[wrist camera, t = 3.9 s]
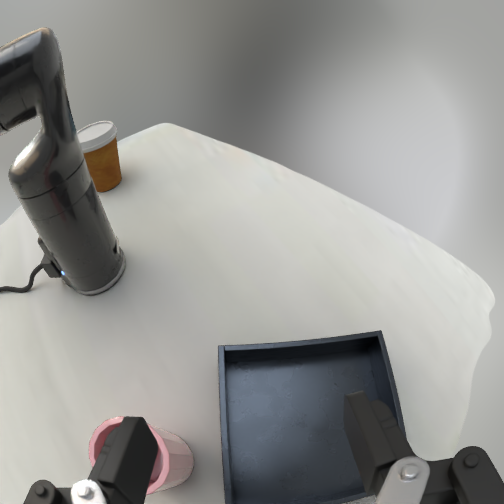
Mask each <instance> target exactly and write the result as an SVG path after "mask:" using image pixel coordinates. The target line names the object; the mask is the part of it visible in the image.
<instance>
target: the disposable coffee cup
mask: <svg viewBox="0 0 504 504" xmlns="http://www.w3.org/2000/svg"><path fill="white" fill-rule="evenodd" d="M116 134H117V128H116V127H115V126H114V124H113V123H112V122H111V121H100V122H97V123H93V124H90V125H88V126H86V127H84V128H82V129H80V130H79V131H77V135H78V138H79V142H80V145H81V148H82V150H83V153H84V156H85V159H86V162H87V165H88V168H89V171H90V174H91V177H92V179H93V182H94V185H95V188H96V190H97V192H104V191H108V190H110V189H112V188H114V187H116V186H117V185H118V184H119V183H120V181H121V179H122V177H121V171H120V164H119V157H118V149H117V140H116Z"/></svg>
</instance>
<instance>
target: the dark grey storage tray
mask: <svg viewBox="0 0 504 504" xmlns="http://www.w3.org/2000/svg"><path fill="white" fill-rule="evenodd" d="M218 364H219V398H220V423H221V444H222V462H223V478H224V492H225V504H342V503H346V502H350V501H354V500H357V499H361V498H364V497H368V496H371V495H374V494H375V493H374V494H371V495H368V496H367V494H366V491H365V488H364V485H363V482H362V479H361V476H360V473H359V470H358V467H357V465H356V462H355V459H354V456H353V453H352V450H351V447H350V444H349V442H348V439H347V436H346V433H345V429H344V423H343V414H344V396H345V395H348V394H352V393H355V392H359V391H364V392H365V393H366V395H367V397H368V399H369V401H374V400H377V399H379V400H380V401H382V402H383V403H385V404H386V405H387V406H388V407H389V409H390V410H391V412H392V414H393V417H394V418H395V419H396V421H397V423H398V425H399V427H400V428H401V430H402V432H403V434H404V436H405V438H406V432H405V427H404V422H403V417H402V412H401V407H400V402H399V397H398V393H397V388H396V384H395V380H394V376H393V372H392V368H391V364H390V360H389V356H388V352H387V349H386V345H385V341H384V338H383V334H382V331H381V330H380V331H374V332H367V333H360V334H353V335H346V336H338V337H330V338H321V339H312V340H302V341H291V342H278V343H264V344H247V345H225V346H224V345H223V346H218ZM406 439H407V438H406Z"/></svg>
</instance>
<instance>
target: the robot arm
mask: <svg viewBox="0 0 504 504" xmlns="http://www.w3.org/2000/svg"><path fill="white" fill-rule="evenodd" d="M38 116H40V118H41V121H42V127H41V129H40V131H39V132H38V134H37V135H36V136H35V138H34V139H33V140H32V141H31V142H30V143H29V144H28V145H27V146H26V147H25V148H24V149H23V151H21V153H20V154H19V155H18V156H17V157H16V158H15V160H14V161H13V163H12V165H11V167H10V169H9V180H10V183H11V185H12V187H13V189H14V191H15V193H16V195H17V197H18V199H19V201H20V203H21V204H22V206H23V208H24V210H25V212H26V214H27V215H28V217H29V219H30V221H31V222H32V224H33V226H34V228H35V229H36V231H37V233H38V234H39V238H38V244H39V245H40V247H41V248H42V250H43V252H44V253H45V254H44V257H43V259H42V261H41V264H40V265H38V266H37V267H36V268H35V269H34V270H33V272H32V273H31V276H30V280H29V284H28V285H27V286H26V287H24V288H16V287H9V286H4V287H0V292H1V291H13V292H26V291H28V290H30V289H31V287H32V285H33V281H34V277H35V275H36V274H37V273H38V272H39V271H40V270H41V269H42V268H44V270H45V271H46V273H47V274H48V275H49V277H50V278H60V277H61V278H62V279H63V280H64V282H65V283H66V284H67V285H68V286H72V287H73V288H74V289H75V290H76V291H77V292H79V293H81V294H84V295H94V294H98V293H101V292H103V291H105V290H107V289H109V288H110V287H111V286H113V285H114V284H115V283H116V282H117V281H118V279H119V278H120V276H121V275H122V273H123V270H124V267H125V256H124V254H123V252H122V250H121V248H120V246H119V241H118V238H117V236H116V237H115V235H114V233H113V230H112V228H111V226H110V223H109V221H108V218H107V216H106V213H105V211H104V208H103V206H102V203H101V201H100V198H99V196H98V193H97V190H96V188H95V185H94V182H93V179H92V177H91V174H90V171H89V168H88V165H87V162H86V159H85V156H84V153H83V150H82V148H81V145H80V142H79V138H78V135H77V132H76V129H75V125H74V122H73V118H72V114H71V110H70V106H69V101H68V96H67V90H66V84H65V77H64V70H63V63H62V57H61V51H60V47H59V42H58V40H57V37H56V35H55V34H54V32H53V31H52V30H51V29H49V28H46V27H44V28H40V29H37V30H34V31H32V32H30V33H28V34H25V35H23V36H21V37H19V38H17V39H15V40H13V41H11V42H9V43H8V44H6V45H4V46H2V47H0V136H1V135H3V134H5V133H7V132H8V131H10V130H12V129H14V128H16V127H18V126H20V125H22V124H23V123H25V122H28V121H30V120H31V119H34V118H36V117H38ZM343 423H344V429H345V433H346V436H347V439H348V442H349V444H350V447H351V450H352V453H353V456H354V459H355V462H356V465H357V467H358V470H359V473H360V476H361V479H362V482H363V485H364V488H365V491H366V494H367V496H368V495H371V494H374V493H375V495H376V498H377V499H376V501H375V503H374V504H504V483H503V481H502V479H501V477H500V475H499V474H498V472H497V470H496V469H495V467H494V465H493V463H492V462H491V460H490V458H489V457H488V455H487V453H486V452H485V451H484V450H483V449H482V448H480V447H476V446H470V447H466V448H463V449H462V450H460V451H459V452H458V453H457V454H456V455H455V457H454V458H450V459H444V460H439V461H426V460H423V459H422V458H419V457H417V456H416V455H415V454H414V452H413V451H412V449H411V447H410V445H409V443H408V441H407V439H406V438H405V436H404V434H403V432H402V430H401V428H400V427H399V425H398V423H397V421H396V419H395V418H394V417H393V414H392V412H391V410H390V409H389V407H388V406H387V405H386V404H385V403H383V402H382V401H380V400H379V399H377V400H374V401H369V399H368V397H367V395H366V393H365V392H364V391H359V392H355V393H352V394H348V395H345V396H344V414H343ZM157 453H158V443H157V440H156V438H155V436H154V435H153V433H152V431H151V430H150V428H149V426H148V425H147V423H146V421H145V419H144V418H143V417H129V416H126V417H124V418H123V420H122V422H121V424H120V426H119V427H115V428H114V429H113V430H112V431H111V432H110V433H109V434H108V436H107V438H106V440H105V442H104V446H102V449H101V453H99V455H98V457H97V460H96V462H95V464H94V466H93V469H92V471H91V473H90V475H89V477H88V479H86V480H81V481H78V482H77V483H75V484H74V485H73V487H72V488H56V487H55V486H54V485H53V484H52V483H51V482H49V481H47V480H39V481H37V482H35V483H34V484H33V485H32V486H31V488H30V490H29V493H28V495H27V497H26V499H25V501H24V504H144V501H145V497H146V493H147V489H148V486H149V482H150V478H151V474H152V471H153V467H154V464H155V460H156V456H157Z"/></svg>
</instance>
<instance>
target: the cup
mask: <svg viewBox="0 0 504 504" xmlns="http://www.w3.org/2000/svg"><path fill="white" fill-rule="evenodd" d="M123 418H124V417H123V416H119V417H116V418H112V419H109V420H106V421H104V422H103V423H102V424H101V425H100V426H99V427H97V428H96V430H95V431H94V433H93V435H92V437H91V440H90V442H89V459H90V461H91V464H92V467H93V466H94V464H95V462H96V460H97V457H98V455H99V453H101V449H102V446H104V442H105V440H106V438H107V436H108V434H109V433H110V432H111V431H112V430H113V429H114V428H115V427H119V426H120V424H121V422H122V420H123ZM147 425H148V426H149V428H150V430H151V431H152V433H153V435H154V436H155V438H156V440H157V443H158V453H157V456H156V460H155V464H154V467H153V471H152V474H151V478H150V482H149V486H148V489H147V493H146V495H148V494H152V493H156V492H159V491H162V490H165V489H168V488H171V487H174V486H177V485H179V484H181V483H183V482H184V481H185V480H186V479H187V478H188V477H189V476H190V474H191V473H192V470H193V466H194V459H193V454H192V452H191V449H190V448H189V446H188V445H187V443H186V442H185V441H184V440H182V439H181V438H180V437H178V436H177V435H175V434H172V433H170V432H168V431H165V430H163V429H160V428H158V427H155V426H153V425H151V424H148V423H147Z"/></svg>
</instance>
